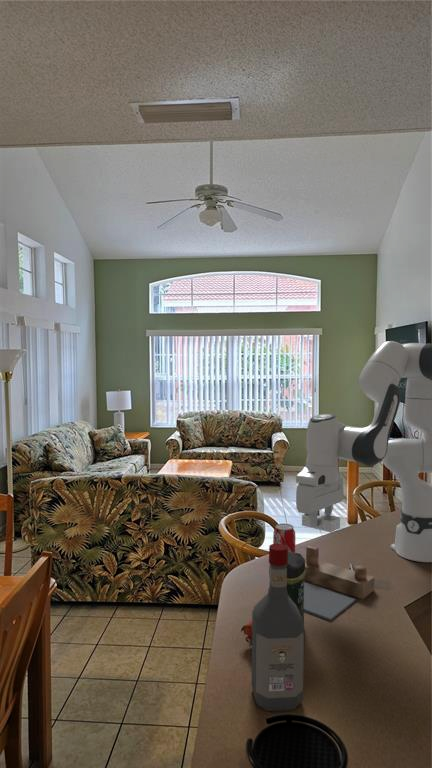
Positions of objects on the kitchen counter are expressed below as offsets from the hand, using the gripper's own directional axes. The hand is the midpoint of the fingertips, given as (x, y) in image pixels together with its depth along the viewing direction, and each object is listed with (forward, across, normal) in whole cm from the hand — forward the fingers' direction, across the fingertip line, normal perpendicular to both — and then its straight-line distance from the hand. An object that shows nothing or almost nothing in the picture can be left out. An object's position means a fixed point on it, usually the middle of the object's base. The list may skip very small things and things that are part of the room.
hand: (320, 523), depth 144 cm
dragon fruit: (+22, +31, +4) cm, 38 cm away
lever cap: (+1, 0, 0) cm, 1 cm away
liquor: (+22, +43, +15) cm, 51 cm away
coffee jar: (+21, +21, +3) cm, 30 cm away
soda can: (+20, -13, -20) cm, 31 cm away
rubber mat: (+20, +3, 0) cm, 21 cm away
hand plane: (+20, -10, 0) cm, 22 cm away
